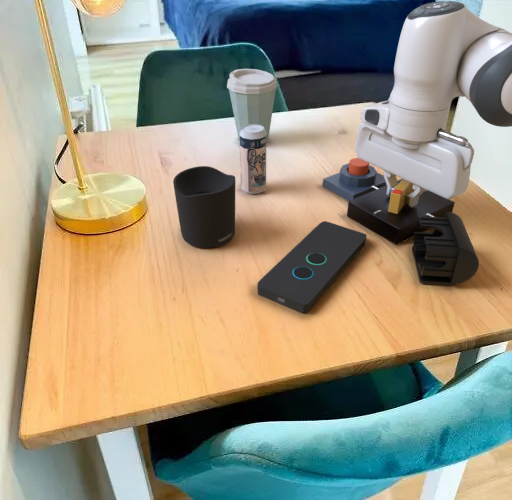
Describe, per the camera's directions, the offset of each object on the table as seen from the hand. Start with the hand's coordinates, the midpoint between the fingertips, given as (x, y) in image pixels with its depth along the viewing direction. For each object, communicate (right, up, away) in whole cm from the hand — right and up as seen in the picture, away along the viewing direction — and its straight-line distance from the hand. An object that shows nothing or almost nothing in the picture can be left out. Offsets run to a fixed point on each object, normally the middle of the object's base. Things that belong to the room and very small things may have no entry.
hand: (401, 200), depth 85 cm
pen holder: (-32, -6, -2) cm, 33 cm away
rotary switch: (0, -3, +2) cm, 3 cm away
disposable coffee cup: (-25, +16, +29) cm, 41 cm away
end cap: (+3, -11, -10) cm, 15 cm away
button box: (-5, +4, +11) cm, 13 cm away
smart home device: (-16, -11, -9) cm, 21 cm away
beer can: (-25, +3, +10) cm, 27 cm away
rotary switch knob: (0, 0, 0) cm, 0 cm away
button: (-5, +6, +9) cm, 12 cm away
